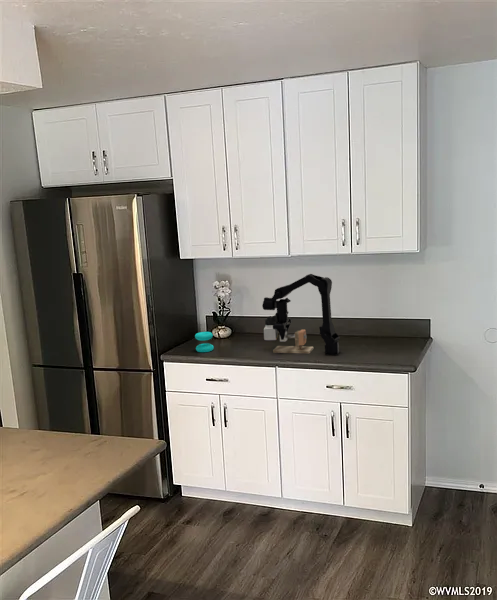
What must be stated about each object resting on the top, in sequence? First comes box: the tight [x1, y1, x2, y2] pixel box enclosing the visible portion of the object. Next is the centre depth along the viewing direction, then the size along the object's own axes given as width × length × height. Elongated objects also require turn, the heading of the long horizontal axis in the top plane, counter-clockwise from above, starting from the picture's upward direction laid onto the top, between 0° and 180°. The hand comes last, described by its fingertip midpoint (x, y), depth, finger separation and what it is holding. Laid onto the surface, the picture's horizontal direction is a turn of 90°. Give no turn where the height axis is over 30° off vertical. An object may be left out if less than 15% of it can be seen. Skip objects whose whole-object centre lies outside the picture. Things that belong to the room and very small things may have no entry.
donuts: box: [194, 331, 215, 353], centre depth 338 cm, size 10×10×10 cm
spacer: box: [298, 329, 307, 346], centre depth 324 cm, size 2×7×7 cm, turn 162°
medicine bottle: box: [263, 319, 279, 341], centre depth 356 cm, size 7×7×12 cm
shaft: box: [279, 331, 307, 342], centre depth 325 cm, size 14×4×5 cm, turn 72°
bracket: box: [272, 330, 314, 355], centre depth 326 cm, size 20×10×10 cm, turn 72°
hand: (283, 338), depth 327 cm, fingers closed on shaft, 4 cm apart
